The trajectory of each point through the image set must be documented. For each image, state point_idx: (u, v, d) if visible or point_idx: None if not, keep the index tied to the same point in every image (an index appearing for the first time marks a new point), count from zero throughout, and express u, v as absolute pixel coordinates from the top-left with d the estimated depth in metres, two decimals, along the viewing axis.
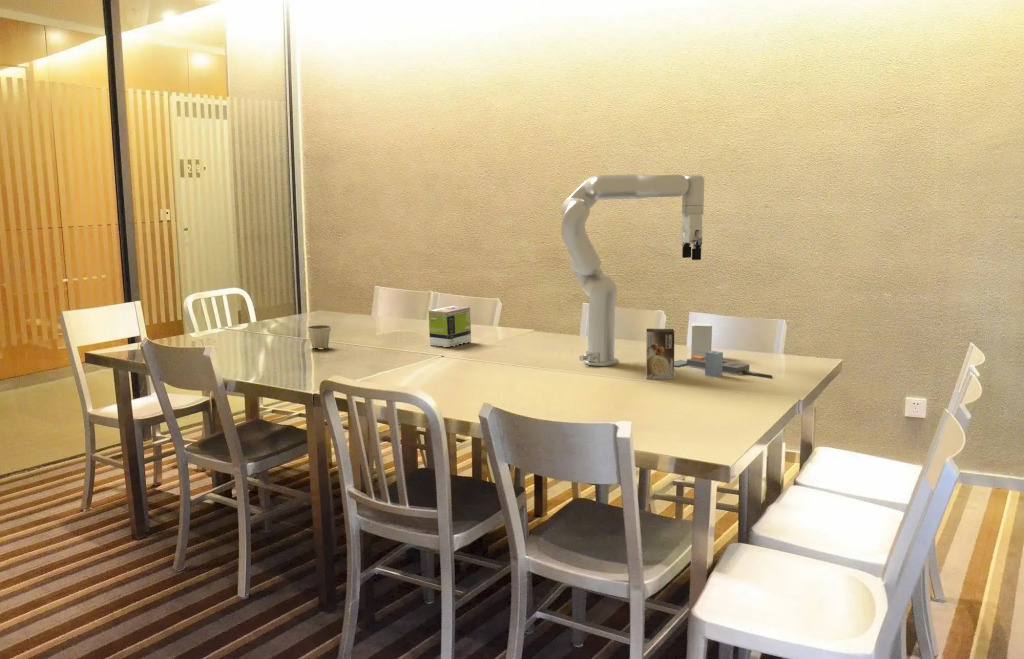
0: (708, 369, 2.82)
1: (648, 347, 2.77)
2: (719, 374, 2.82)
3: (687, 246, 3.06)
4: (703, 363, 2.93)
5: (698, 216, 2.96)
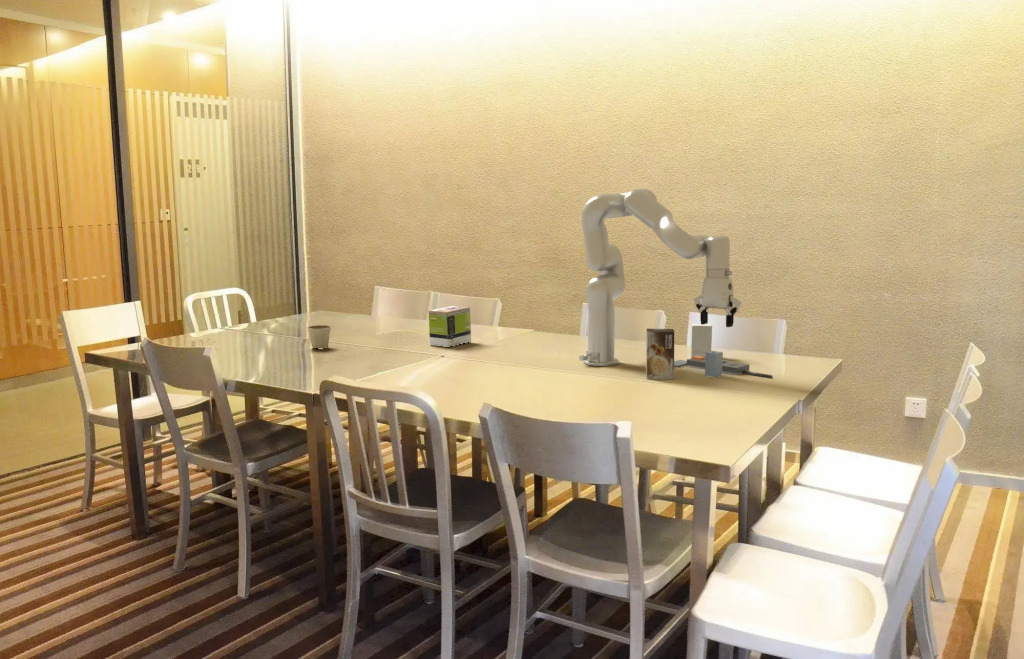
0: (708, 369, 2.82)
1: (648, 347, 2.77)
2: (719, 374, 2.82)
3: None
4: (703, 363, 2.93)
5: None
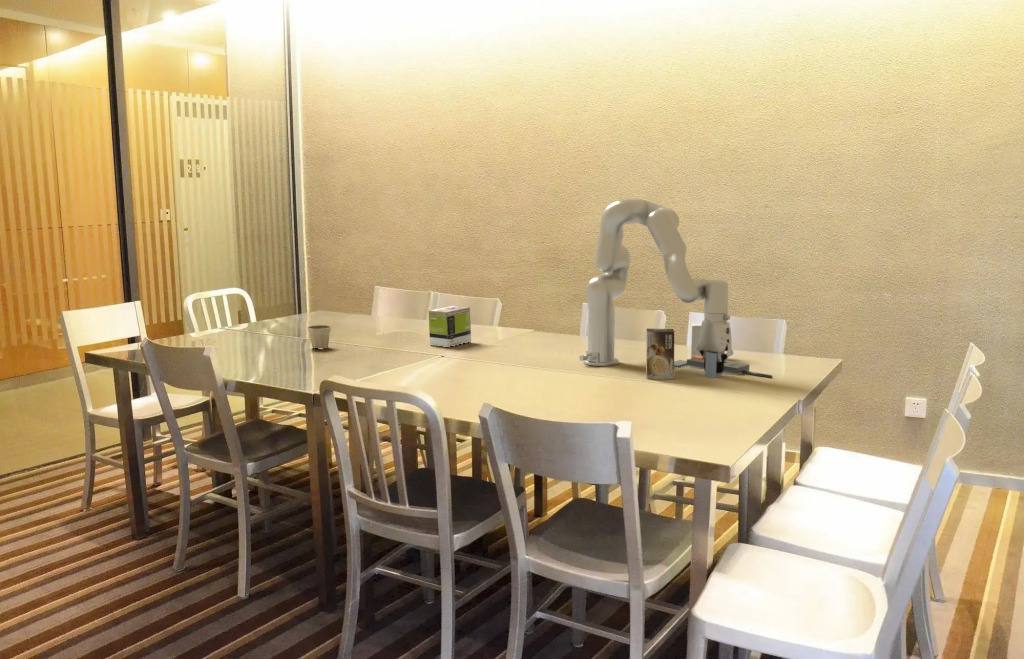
0: (708, 369, 2.82)
1: (648, 347, 2.77)
2: (719, 374, 2.82)
3: None
4: (703, 363, 2.93)
5: None
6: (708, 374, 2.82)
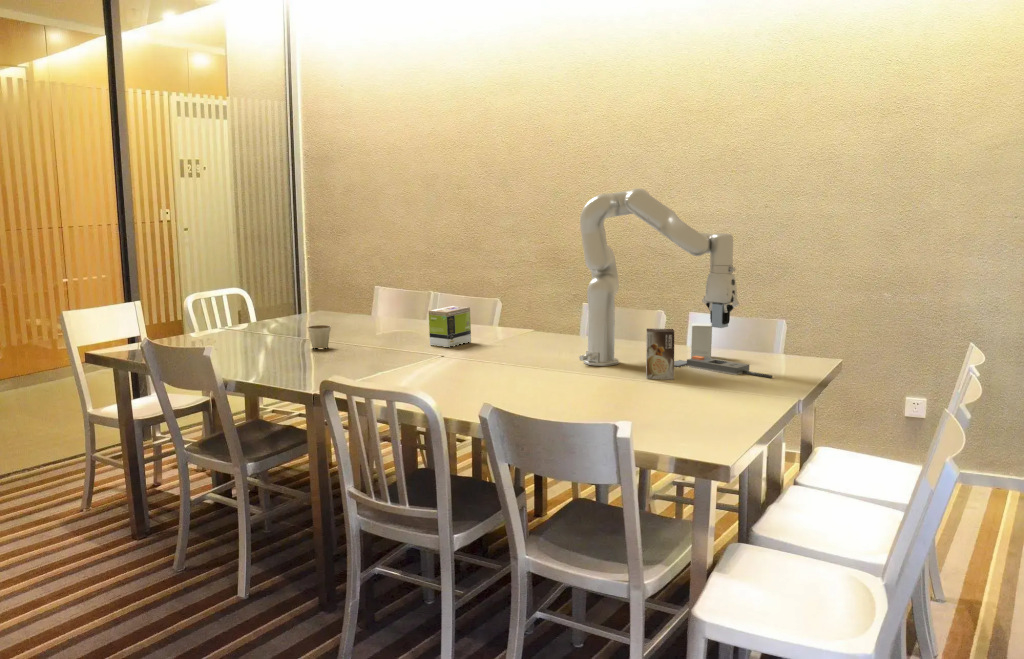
0: (714, 321, 2.90)
1: (648, 347, 2.77)
2: (725, 325, 2.90)
3: None
4: (703, 363, 2.93)
5: None
6: (714, 325, 2.90)
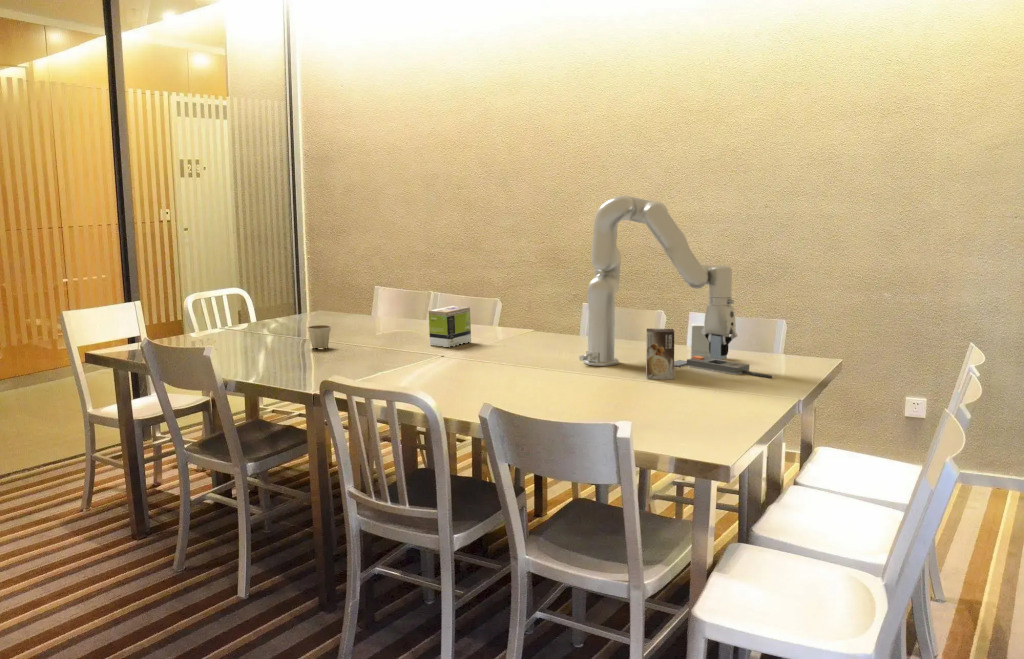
0: (713, 352, 2.92)
1: (648, 347, 2.77)
2: (724, 356, 2.92)
3: None
4: (703, 363, 2.93)
5: None
6: (713, 356, 2.92)
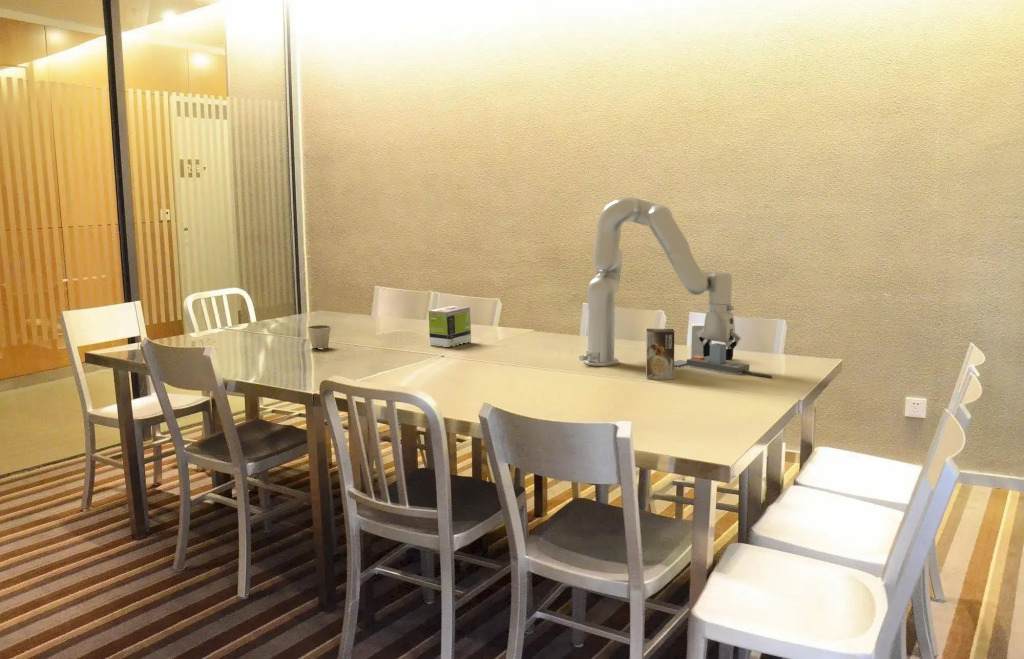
0: (712, 361, 2.92)
1: (648, 347, 2.77)
2: None
3: None
4: (703, 363, 2.93)
5: None
6: None
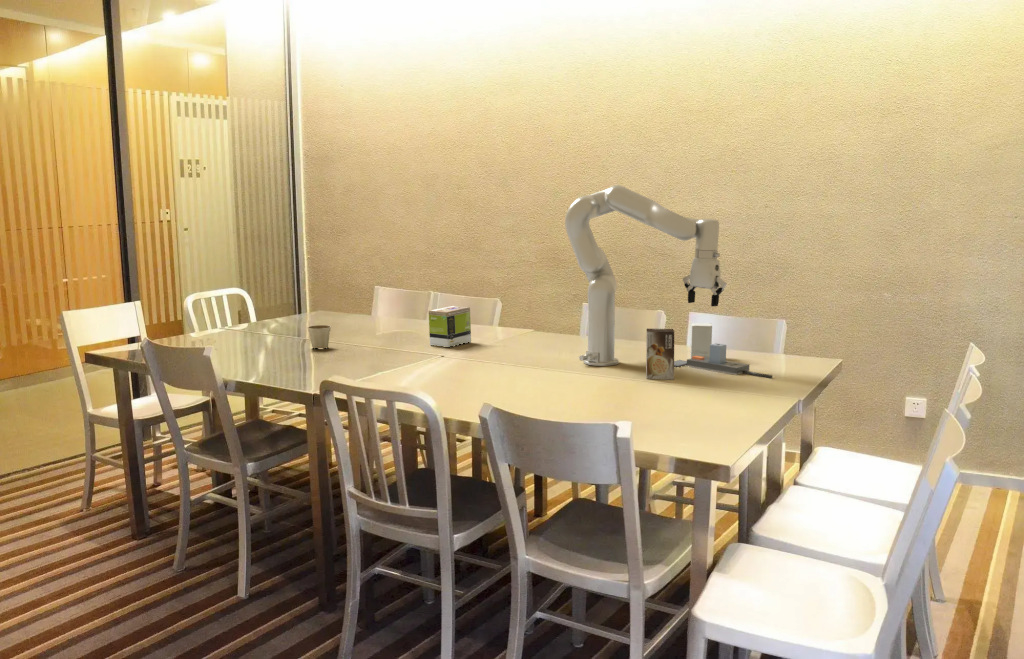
0: (712, 361, 2.92)
1: (648, 347, 2.77)
2: None
3: None
4: (703, 363, 2.93)
5: None
6: None
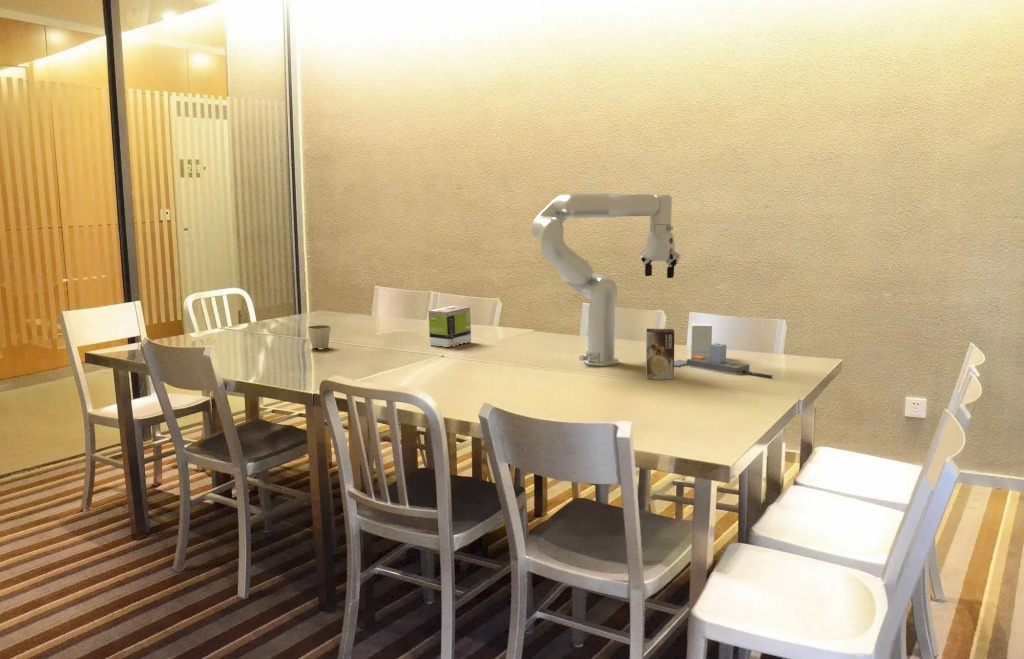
0: (712, 361, 2.92)
1: (648, 347, 2.77)
2: None
3: None
4: (703, 363, 2.93)
5: None
6: None
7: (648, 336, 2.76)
